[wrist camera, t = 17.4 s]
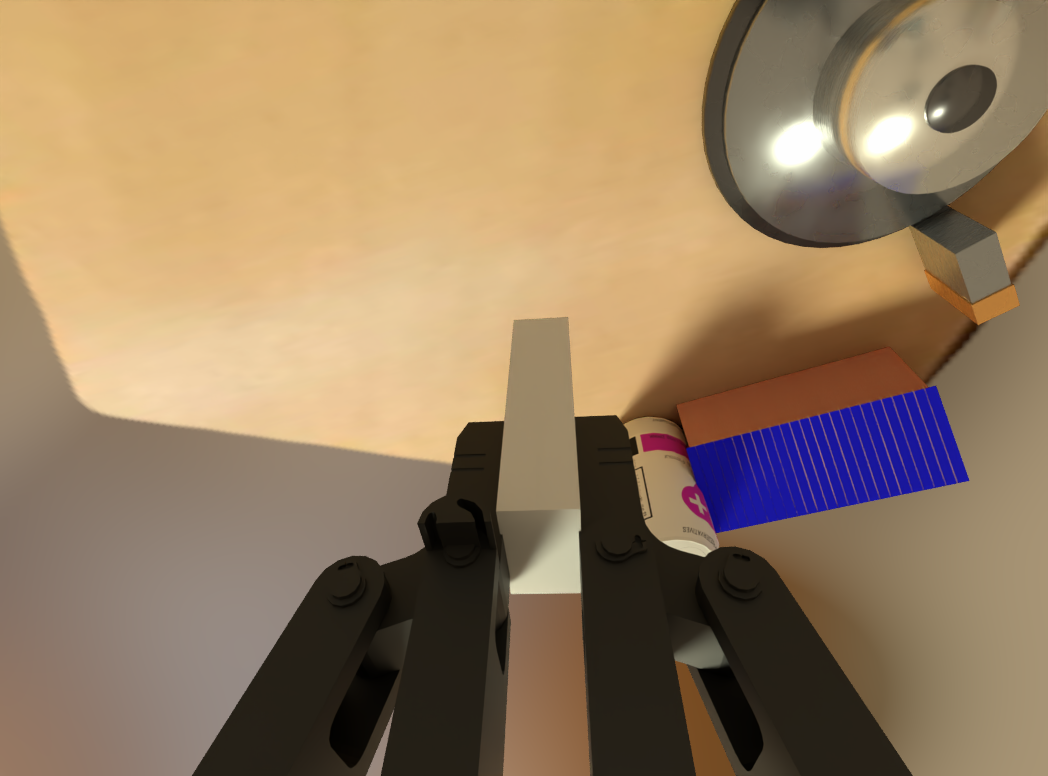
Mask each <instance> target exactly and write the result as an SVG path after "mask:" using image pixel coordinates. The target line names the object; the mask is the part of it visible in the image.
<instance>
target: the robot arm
mask: <svg viewBox="0 0 1048 776" xmlns="http://www.w3.org/2000/svg"><path fill="white" fill-rule="evenodd" d="M451 470H452V472H451V474H450V478H449V484H448V489H447V494H446V496H444V497H442V498H440V499H438V500H436V501H434V502H432V503H431V504H430V505H429V506H428V507H427V508H426V509H425V510H424V511H423V512H422V514H421V517H420V519H419V521H418V523H417V524H418V527H419V530H420V533H421V536H422V539H423V542H424V545H425V547H424V548H423V549H421V550H420V551H418V552H417V553H415V554H413V555H410V556H408V557H406V558H402V559H400V560H397V561H393V562H390V563H387V564H384V565H381V566H380V565H379V564H378V563H377V561H375V560H373V559H371V558H368V557H366V556H351V557H348V558H344V559H341V560H338V561H337V562H335V563H334V564H332V565H331V566H329V567H328V568H326V569H325V570H324V571H323V572H322V574H321V575H320V576H319V577H318V578H317V580H316V581H315V582H314V584H313V585H312V587H311V589H310V590H309V592H308V593H307V595H306V596H305V598H304V600H303V601H302V603H301V604H300V606H299V608H298V609H297V611H296V612H295V614H294V615H293V617H292V619H291V620H290V622H289V623H288V625H287V627H286V628H285V630H284V631H283V633H282V634H281V636H280V638H279V639H278V641H277V642H276V644H275V645H274V647H273V649H272V650H271V652H270V653H269V655H268V656H267V658H266V660H265V661H264V663H263V664H262V666H261V668H260V669H259V671H258V673H257V674H256V676H255V677H254V679H253V680H252V682H251V683H250V685H249V686H248V688H247V690H246V691H245V693H244V694H243V696H242V697H241V699H240V701H239V702H238V704H237V705H236V707H235V709H234V710H233V712H232V713H231V715H230V716H229V718H228V720H227V721H226V723H225V724H224V726H223V728H222V729H221V731H220V732H219V734H218V735H217V737H216V739H215V740H214V742H213V743H212V745H211V746H210V748H209V750H208V751H207V753H206V754H205V756H204V757H203V759H202V761H201V762H200V764H199V765H198V767H197V769H196V770H195V772H194V773H193V775H192V776H366V774H367V772H368V769H369V767H370V764H371V762H372V760H373V757H374V755H375V753H376V750H377V748H378V745H379V743H380V741H381V738H382V736H383V734H384V731H385V729H386V726H387V724H388V722H389V719H390V717H391V714H392V712H393V710H394V713H393V718H392V723H391V728H390V733H389V738H388V743H387V747H386V753H385V757H384V762H383V767H382V772H381V776H503V762H504V743H505V723H506V704H507V685H508V664H509V646H510V645H509V644H510V626H511V620H510V614H509V608H508V604H509V588H510V591H511V594H542V593H543V594H544V593H581V601H582V631H583V646H584V665H585V683H586V702H587V719H588V740H589V759H590V776H696V773H695V767H694V762H693V757H692V751H691V746H690V741H689V735H688V730H687V724H686V719H685V713H684V708H683V703H682V697H681V692H680V687H679V681H678V675H677V670H676V666H675V660H676V661H679V662H682V663H685V664H687V666H688V668H689V671H690V673H691V675H692V678H693V680H694V682H695V684H696V686H697V689H698V691H699V693H700V696H701V698H702V700H703V702H704V705H705V707H706V709H707V711H708V714H709V716H710V718H711V720H712V722H713V725H714V727H715V729H716V732H717V734H718V736H719V739H720V741H721V743H722V745H723V748H724V750H725V752H726V754H727V757H728V759H729V761H730V763H731V766H732V768H733V770H734V772H735V775H736V776H912V774H911V772H910V771H909V769H908V768H907V766H906V765H905V763H904V762H903V761H902V759H901V757H900V756H899V754H898V753H897V751H896V750H895V749H894V747H893V745H892V744H891V742H890V741H889V740H888V738H887V736H886V735H885V733H884V732H883V730H882V729H881V728H880V726H879V724H878V723H877V722H876V720H875V718H874V717H873V716H872V714H871V713H870V711H869V710H868V708H867V707H866V705H865V704H864V702H863V701H862V699H861V698H860V696H859V695H858V693H857V692H856V690H855V689H854V687H853V686H852V684H851V683H850V681H849V680H848V678H847V677H846V675H845V674H844V672H843V671H842V669H841V668H840V666H839V665H838V663H837V662H836V660H835V659H834V657H833V656H832V654H831V653H830V651H829V650H828V648H827V647H826V645H825V644H824V642H823V641H822V639H821V638H820V636H819V635H818V633H817V632H816V630H815V629H814V627H813V626H812V624H811V623H810V621H809V620H808V618H807V617H806V615H805V614H804V612H803V611H802V609H801V608H800V606H799V605H798V603H797V602H796V600H795V599H794V597H793V596H792V594H791V593H790V591H789V590H788V588H787V587H786V585H785V584H784V582H783V581H782V579H781V578H780V576H779V575H778V573H777V572H776V571H775V569H774V568H773V567H772V566H771V565H770V564H769V563H768V562H767V561H766V560H765V559H764V558H762V557H761V556H759V555H757V554H755V553H754V552H752V551H750V550H746V549H742V548H738V547H720V548H718V549H716V550H714V551H711V552H709V553H708V554H707V555H706V556H705V557H703V556H699V555H695V554H692V553H688V552H684V551H680V550H678V549H675V548H672V547H670V546H668V545H666V544H665V543H663V542H661V541H660V540H659V539H658V538H656V537H655V536H654V535H653V534H652V533H651V531H650V530H649V528H648V527H647V525H646V523H645V520H644V517H643V512H642V507H641V501H640V496H639V490H638V484H637V479H636V473H635V468H634V464H633V457H632V451H631V445H630V440H629V434H628V430H627V428H626V427H625V426H624V425H623V423H622V422H621V421H620V420H619V418H618V417H617V416H616V415H611V416H586V417H574V401H573V386H572V370H571V355H570V339H569V324H568V317H562V318H543V319H525V320H514V323H513V334H512V345H511V356H510V366H509V377H508V388H507V399H506V409H505V420H504V421H494V422H469V423H468V424H467V425H466V427H465V428H464V429H463V431H462V432H461V433H460V435H459V436H458V437H457V442H456V447H455V452H454V458H453V463H452V468H451ZM394 707H395V708H394Z"/></svg>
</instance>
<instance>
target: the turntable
mask: <svg viewBox="0 0 1048 776" xmlns="http://www.w3.org/2000/svg"><path fill="white" fill-rule="evenodd" d="M880 1H881V0H761V2H760V4H759V5H758V7H757V9H756V11H755V12H754V14H753V16H752V17H751V19H750V21H749V23H748V25H747V27H746V29H745V31H744V33H743V36H742V38H741V40H740V42H739V44H738V47H737V49H736V52H735V55H734V58H733V61H732V64H731V66H730V70H729V74H728V78H727V82H726V86H725V91H724V98H723V106H722V141H723V149H724V155H725V158H726V162H727V166H728V169H729V172H730V174H731V176H732V179H733V181H734V183H735V185H736V187H737V189H738V190H739V192H740V193H741V195H742V196H743V198H744V199H745V200H746V201H747V202H748V204H749V205H750V206H751V207H752V208H753V209H754V210H755V211H756V212H757V213H758V214H759V215H760V216H761V217H762V218H763V219H765V220H766V221H767V222H768V223H770V224H771V225H772V226H774V227H776V228H778V229H780V230H781V231H783V232H785V233H787V234H790V235H793V236H796V237H799V238H802V239H806V240H811V241H816V242H829V243H843V242H856V241H861V240H866V239H872V238H876V237H879V236H883V235H886V234H889V233H893V232H895V231H898V230H900V229H903V228H905V227H908V226H909V228H910V230H911V233H912V236H913V238H914V241H915V243H916V246H917V249H918V251H919V254H920V256H921V259H922V262H923V264H924V267H925V270H924V271H925V274H926V276H927V279H928V282H929V284H930V287H931V289H932V290H934V291H935V292H936V293H938V294H939V295H940V296H941V297H943V298H944V299H945V300H947V301H948V302H949V303H950V304H952V305H953V306H954V307H956V308H957V309H958V310H959V311H961V312H962V313H963V314H965V315H966V316H967V317H968V318H970V319H971V320H972V321H974V322H975V323H976V324H978V325H979V324H981V323H983V322H986V321H988V320H990V319H992V318H994V317H996V316H998V315H1000V314H1002V313H1004V312H1007V311H1009V310H1011V309H1013V308H1015V307H1017V306H1019V305H1020V304H1019V301H1018V297H1017V293H1016V290H1015V286H1014V284H1012V283H1011V282H1010V279H1009V275H1008V272H1007V268H1006V265H1005V261H1004V258H1003V254H1002V251H1001V247H1000V244H999V240H998V237H997V233H996V232H994V231H993V230H991V229H989V228H987V227H985V226H983V225H981V224H980V223H978V222H976V221H974V220H972V219H970V218H968V217H967V216H965V215H963V214H961V213H959V212H957V211H955V210H954V209H952V208H950V207H948V206H947V205H949V204H950V203H952V202H953V201H955V200H956V199H957V198H959V197H960V196H961V195H963V194H964V193H965V192H967V191H968V190H969V189H971V188H972V187H973V186H974V185H976V184H977V183H978V182H979V181H980V180H981V179H982V178H984V177H985V176H986V175H987V174H988V173H989V172H990V171H991V170H992V169H993V168H994V167H995V166H996V165H997V164H998V163H999V162H1000V161H999V162H998V163H997V164H995V165H994V166H993V167H991V168H990V169H988V170H986V171H985V172H983V173H982V174H980V175H978V176H976V177H975V178H973V179H971V180H969V181H967V182H965V183H962V184H960V185H957V186H955V187H952V188H949V189H946V190H943V191H938V192H933V193H926V194H906V193H901V192H896V191H893V190H891V189H888V188H886V187H884V186H882V185H881V184H879V183H877V182H875V181H874V180H872V179H870V178H869V177H867V176H865V175H863V174H862V173H860V172H858V171H856V170H855V169H853V168H851V167H850V166H848V165H846V164H844V163H843V162H841V161H839V160H838V159H836V158H834V157H833V156H832V155H831V154H829V153H828V152H827V150H826V149H825V148H824V147H823V146H822V144H821V142H820V140H819V139H818V136H817V133H816V130H815V126H814V121H813V100H814V94H815V89H816V85H817V82H818V79H819V76H820V73H821V71H822V68H823V66H824V64H825V62H826V60H827V58H828V56H829V54H830V53H831V51H832V49H833V48H834V46H835V45H836V43H837V42H838V41H839V39H840V38H841V37H842V35H843V34H844V33H845V32H846V31H847V29H848V28H849V27H850V26H851V25H852V24H853V23H854V22H855V21H856V20H857V19H858V18H859V17H860V16H861V15H862V14H864V13H865V12H866V11H867V10H868V9H870V8H871V7H872V6H874V5H875V4H877V3H878V2H880Z"/></svg>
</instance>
